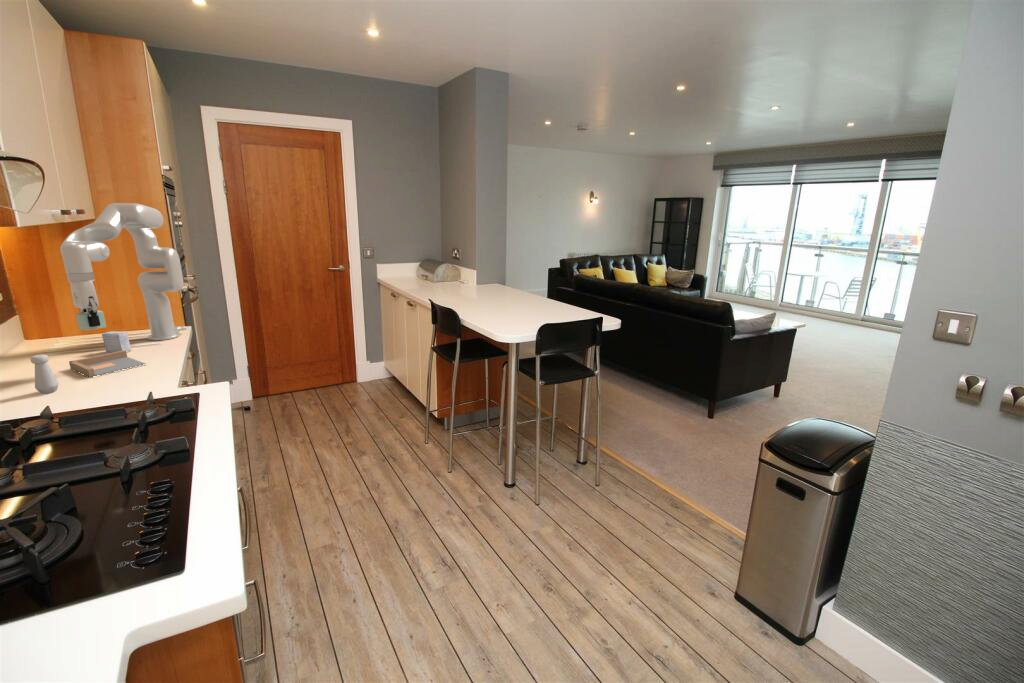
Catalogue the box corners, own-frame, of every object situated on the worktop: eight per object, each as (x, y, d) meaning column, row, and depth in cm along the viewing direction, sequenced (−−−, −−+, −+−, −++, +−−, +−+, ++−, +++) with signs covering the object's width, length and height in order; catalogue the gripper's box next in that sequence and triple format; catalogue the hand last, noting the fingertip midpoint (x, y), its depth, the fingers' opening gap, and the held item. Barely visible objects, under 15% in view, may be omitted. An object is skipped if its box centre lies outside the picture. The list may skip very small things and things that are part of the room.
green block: (79, 329, 183) (75, 313, 181) (101, 325, 189) (98, 310, 187) (83, 330, 181) (80, 315, 179) (106, 327, 187) (103, 311, 185)
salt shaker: (53, 387, 169) (44, 352, 165) (63, 390, 167) (54, 353, 163) (32, 393, 163) (22, 356, 160) (42, 396, 161) (32, 358, 158)
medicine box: (131, 350, 211) (127, 331, 209) (122, 353, 207) (118, 334, 205) (115, 350, 212) (110, 331, 210) (105, 353, 208) (101, 333, 206)
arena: (125, 357, 202) (124, 350, 201) (146, 365, 193) (144, 357, 192) (70, 369, 187) (68, 361, 186) (89, 378, 178) (87, 369, 177)
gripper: (59, 276, 181) (71, 324, 186) (77, 280, 172) (89, 330, 177) (84, 274, 187) (95, 320, 192) (103, 278, 178) (113, 326, 183)
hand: (92, 324), depth 184 cm, fingers closed on green block, 4 cm apart
